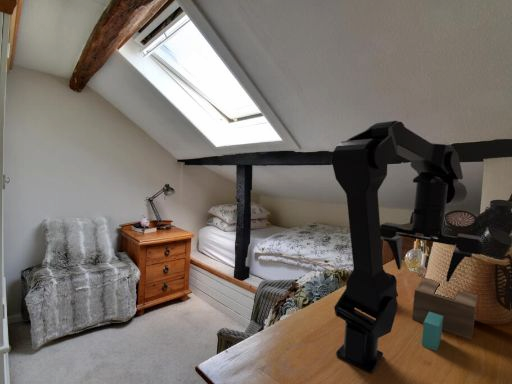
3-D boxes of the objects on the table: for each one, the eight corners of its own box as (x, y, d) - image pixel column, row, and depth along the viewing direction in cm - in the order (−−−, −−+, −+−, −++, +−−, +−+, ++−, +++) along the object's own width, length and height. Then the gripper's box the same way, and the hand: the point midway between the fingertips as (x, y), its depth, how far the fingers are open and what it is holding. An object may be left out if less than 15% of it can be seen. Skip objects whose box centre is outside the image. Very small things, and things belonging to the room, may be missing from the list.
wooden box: (471, 339, 57) (475, 307, 56) (412, 319, 64) (414, 290, 63) (474, 319, 65) (478, 291, 64) (421, 303, 72) (424, 277, 72)
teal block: (436, 351, 53) (439, 326, 52) (421, 345, 54) (423, 321, 54) (440, 339, 57) (443, 316, 56) (427, 333, 58) (429, 311, 58)
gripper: (485, 208, 59) (477, 278, 60) (392, 198, 71) (387, 257, 72) (485, 211, 51) (476, 293, 52) (380, 200, 63) (374, 266, 64)
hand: (422, 274), depth 60 cm, fingers open, 9 cm apart
